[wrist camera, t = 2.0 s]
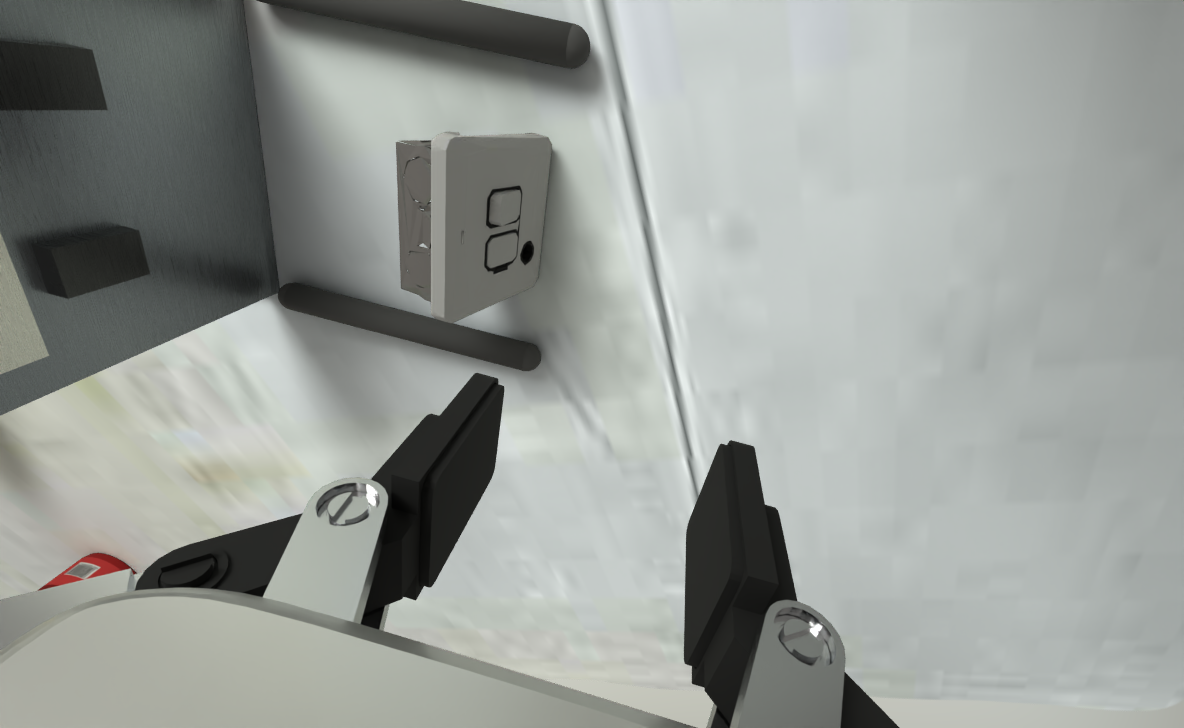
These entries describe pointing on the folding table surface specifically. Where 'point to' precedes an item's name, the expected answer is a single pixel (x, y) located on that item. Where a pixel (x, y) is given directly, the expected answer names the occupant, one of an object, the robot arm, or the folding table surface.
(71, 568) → the canned food
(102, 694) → the robot arm
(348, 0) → the cable near
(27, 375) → the panel
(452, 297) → the electrical switch
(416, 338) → the cable far
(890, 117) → the folding table surface
